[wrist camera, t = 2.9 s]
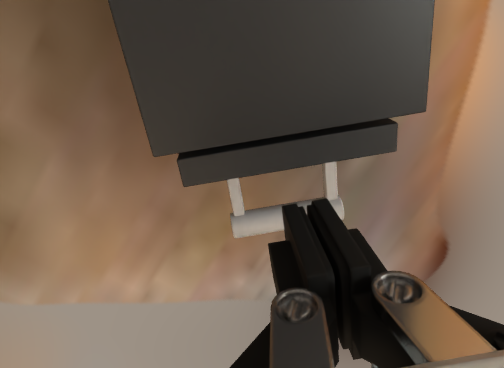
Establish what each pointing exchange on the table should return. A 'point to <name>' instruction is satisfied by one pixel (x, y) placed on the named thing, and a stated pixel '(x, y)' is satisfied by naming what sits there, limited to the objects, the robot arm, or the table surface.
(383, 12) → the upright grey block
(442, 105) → the table surface
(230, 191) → the drawer
